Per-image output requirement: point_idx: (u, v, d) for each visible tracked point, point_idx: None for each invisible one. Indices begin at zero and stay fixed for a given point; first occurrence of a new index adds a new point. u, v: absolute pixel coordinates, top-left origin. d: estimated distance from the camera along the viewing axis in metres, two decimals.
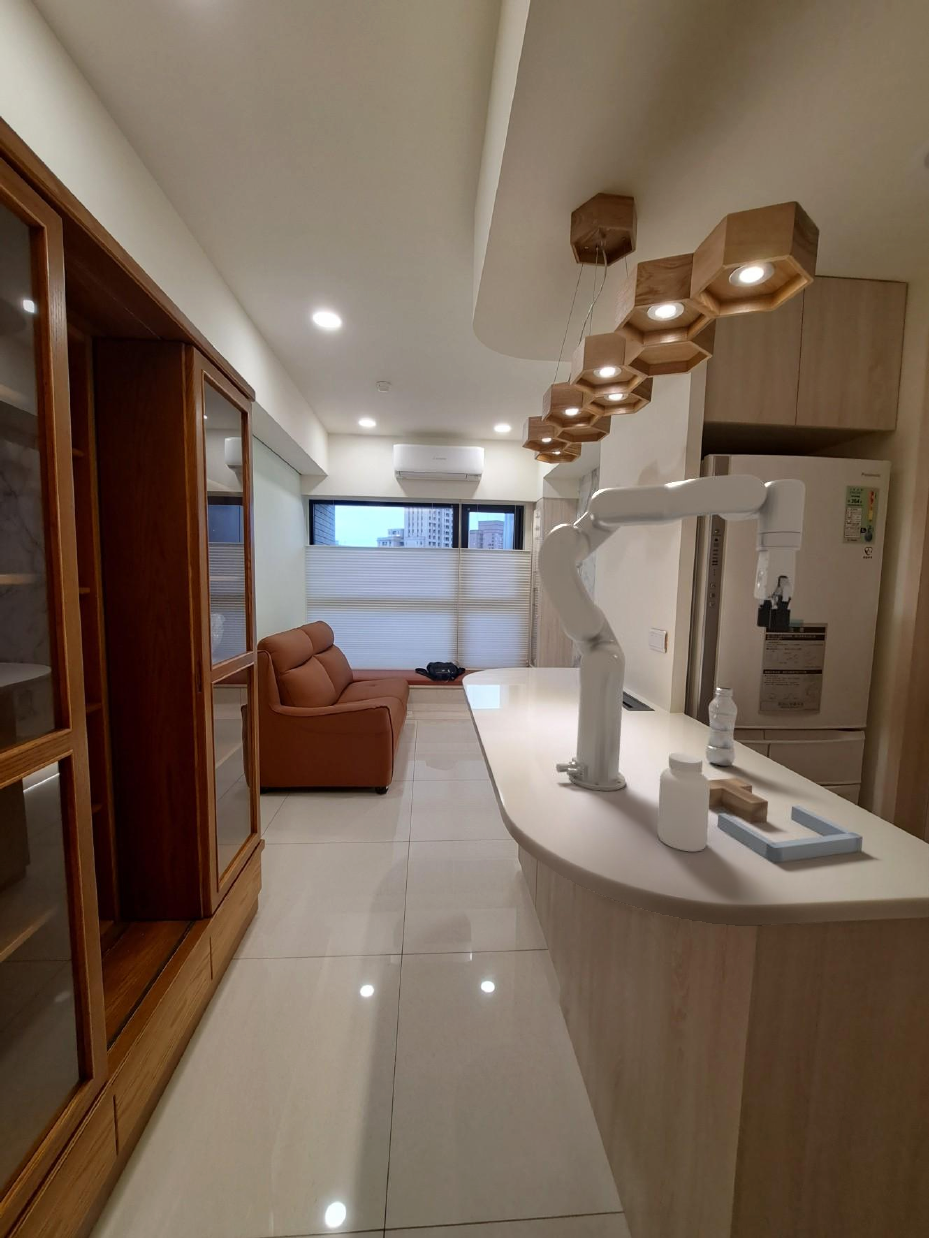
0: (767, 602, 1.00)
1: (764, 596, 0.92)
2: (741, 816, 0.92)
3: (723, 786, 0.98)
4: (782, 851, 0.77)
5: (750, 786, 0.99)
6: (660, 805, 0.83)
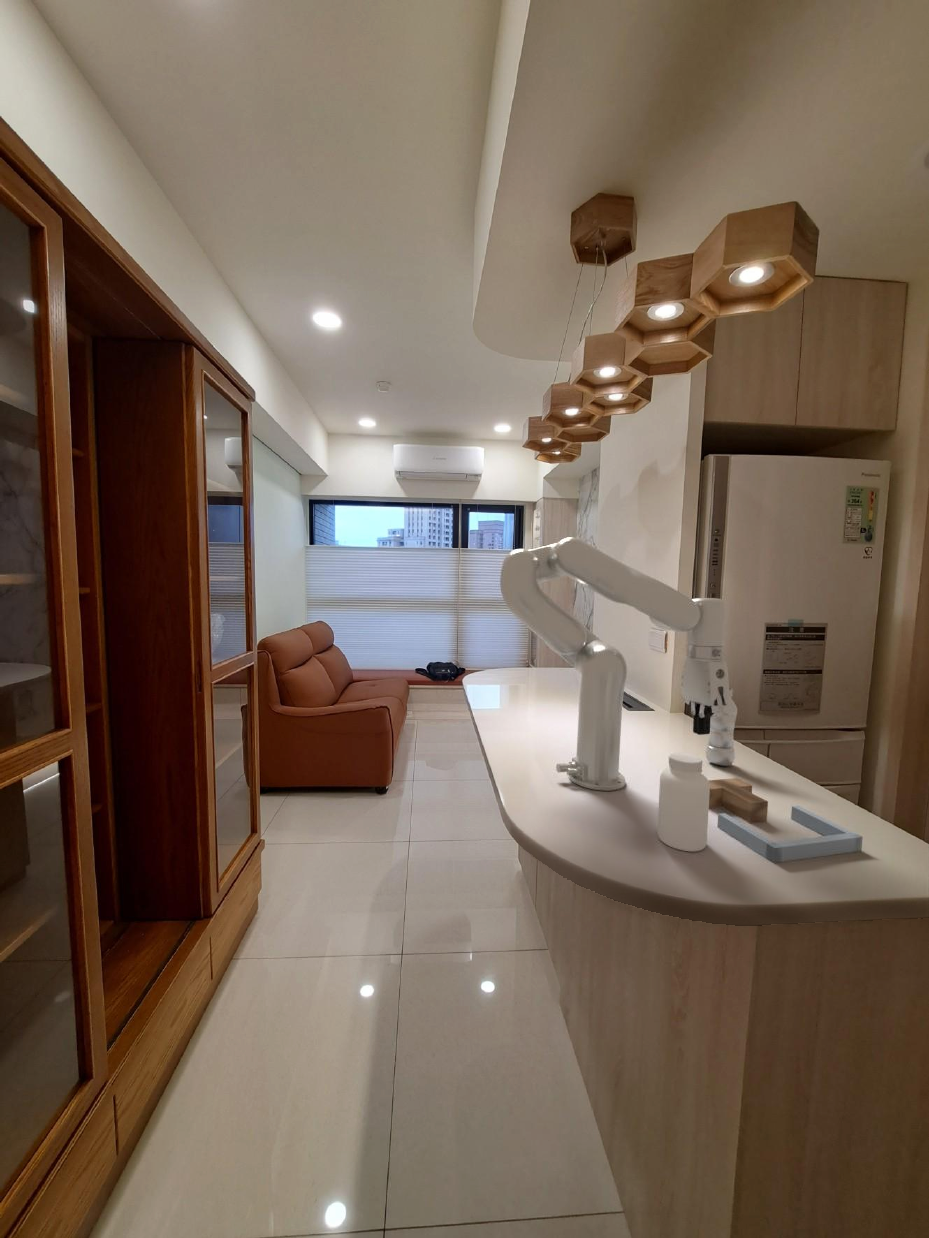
0: None
1: None
2: (741, 816, 0.92)
3: (723, 786, 0.98)
4: (782, 851, 0.77)
5: (750, 786, 0.99)
6: (660, 805, 0.83)
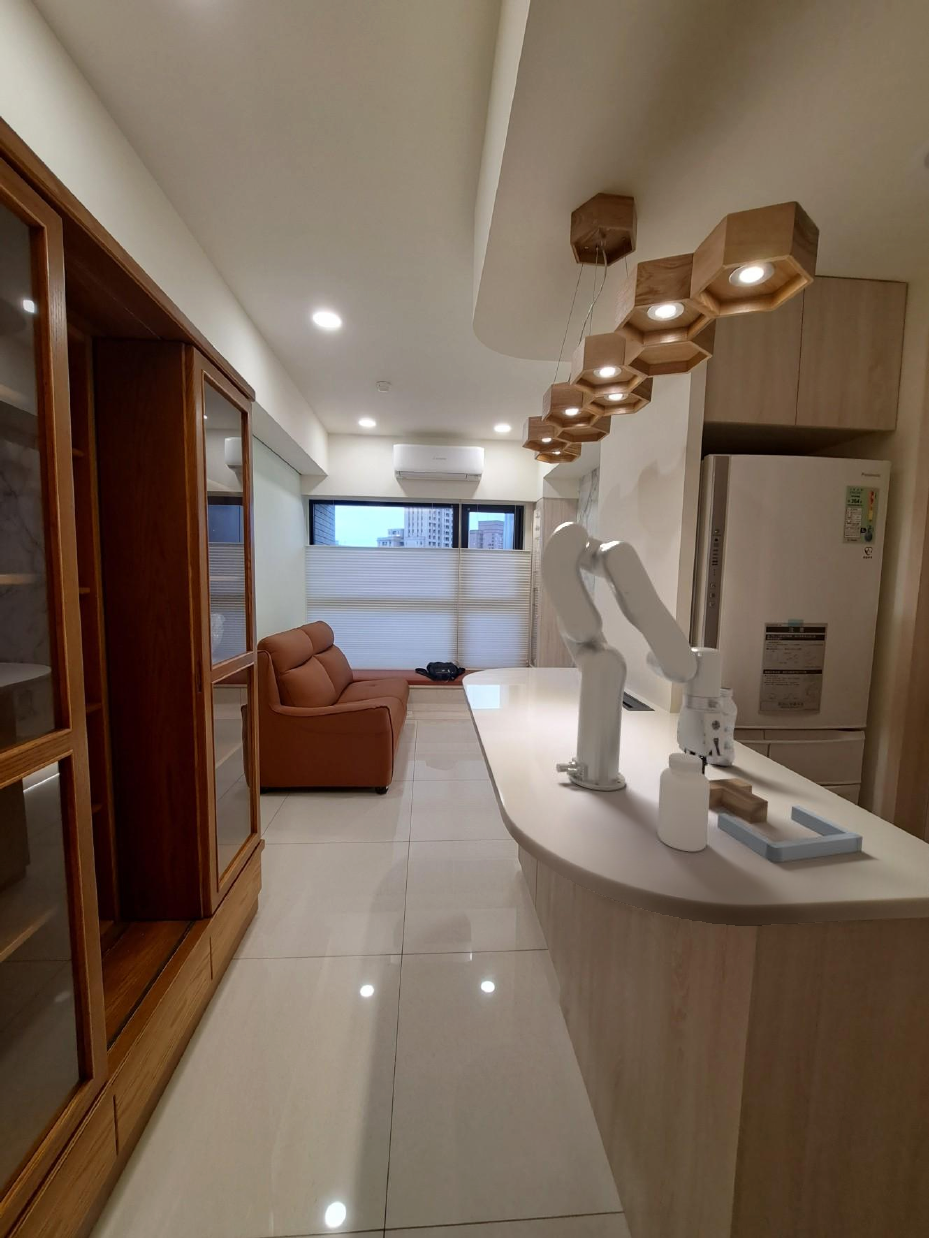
0: None
1: None
2: (741, 816, 0.92)
3: (723, 786, 0.98)
4: (782, 851, 0.77)
5: (750, 786, 0.99)
6: (660, 805, 0.83)
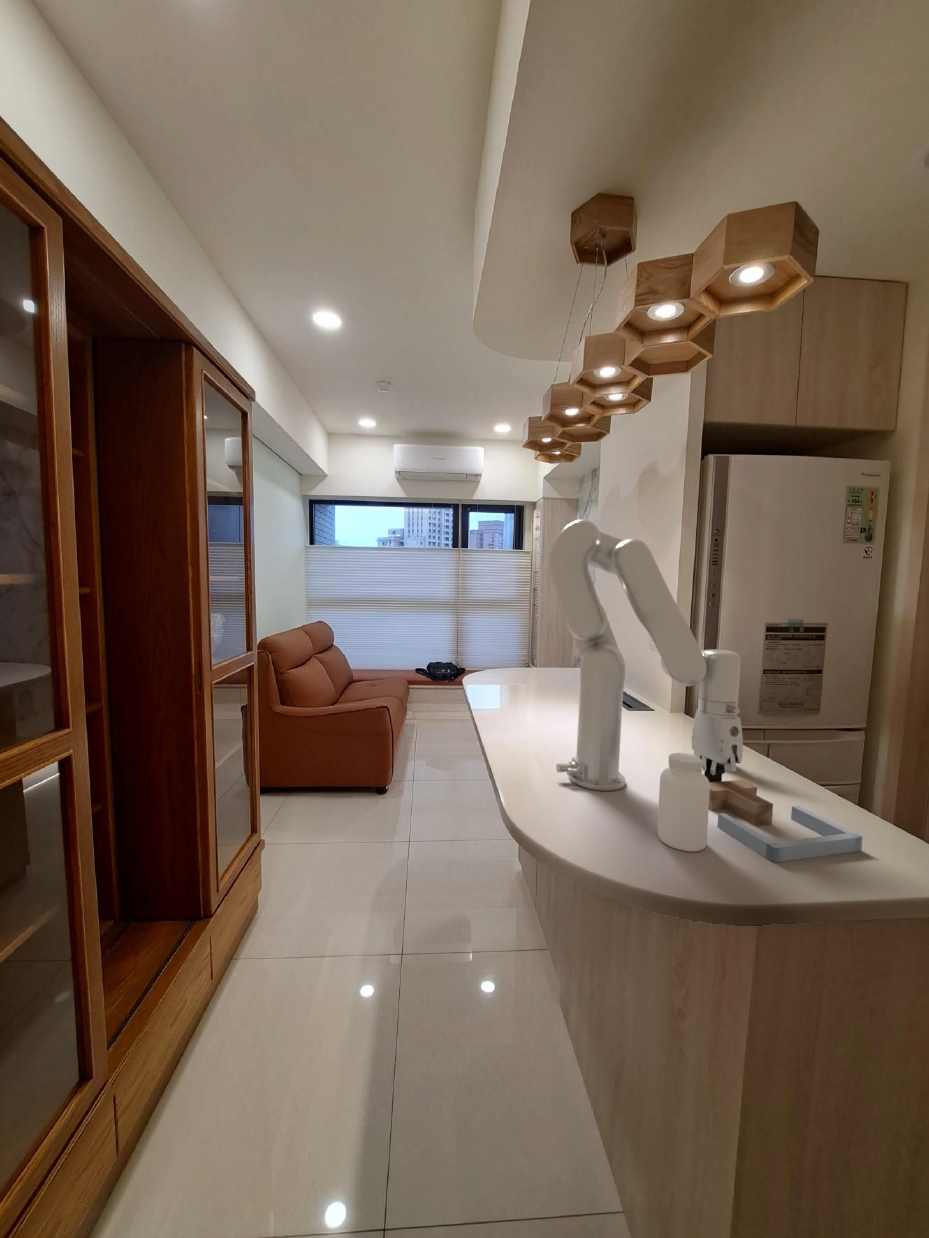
0: None
1: None
2: (746, 818, 0.91)
3: (727, 788, 0.97)
4: (782, 851, 0.77)
5: (755, 788, 0.98)
6: (660, 805, 0.83)
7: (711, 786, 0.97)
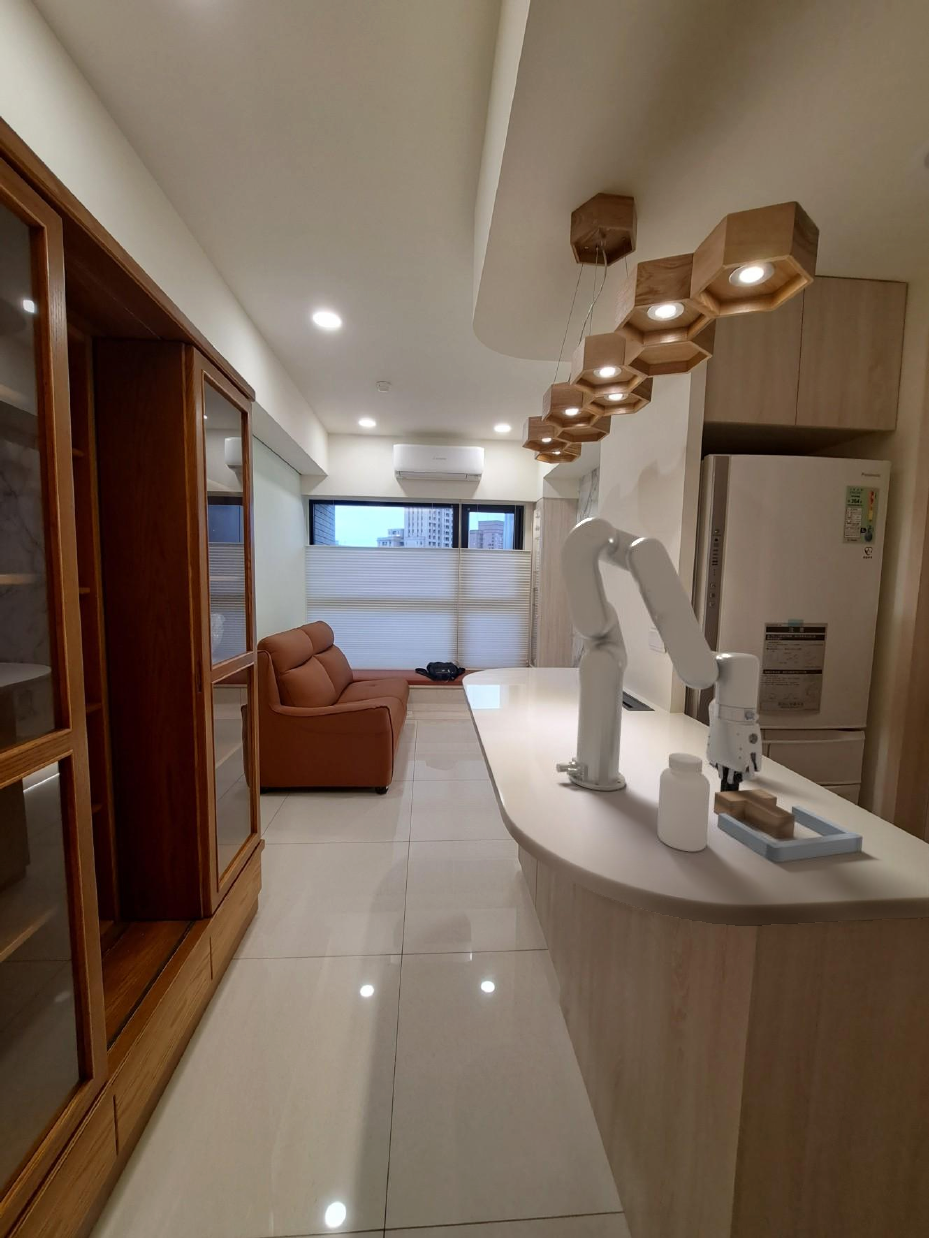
0: None
1: None
2: (766, 830, 0.87)
3: (746, 798, 0.92)
4: (782, 851, 0.77)
5: (774, 798, 0.93)
6: (660, 805, 0.83)
7: (729, 796, 0.93)
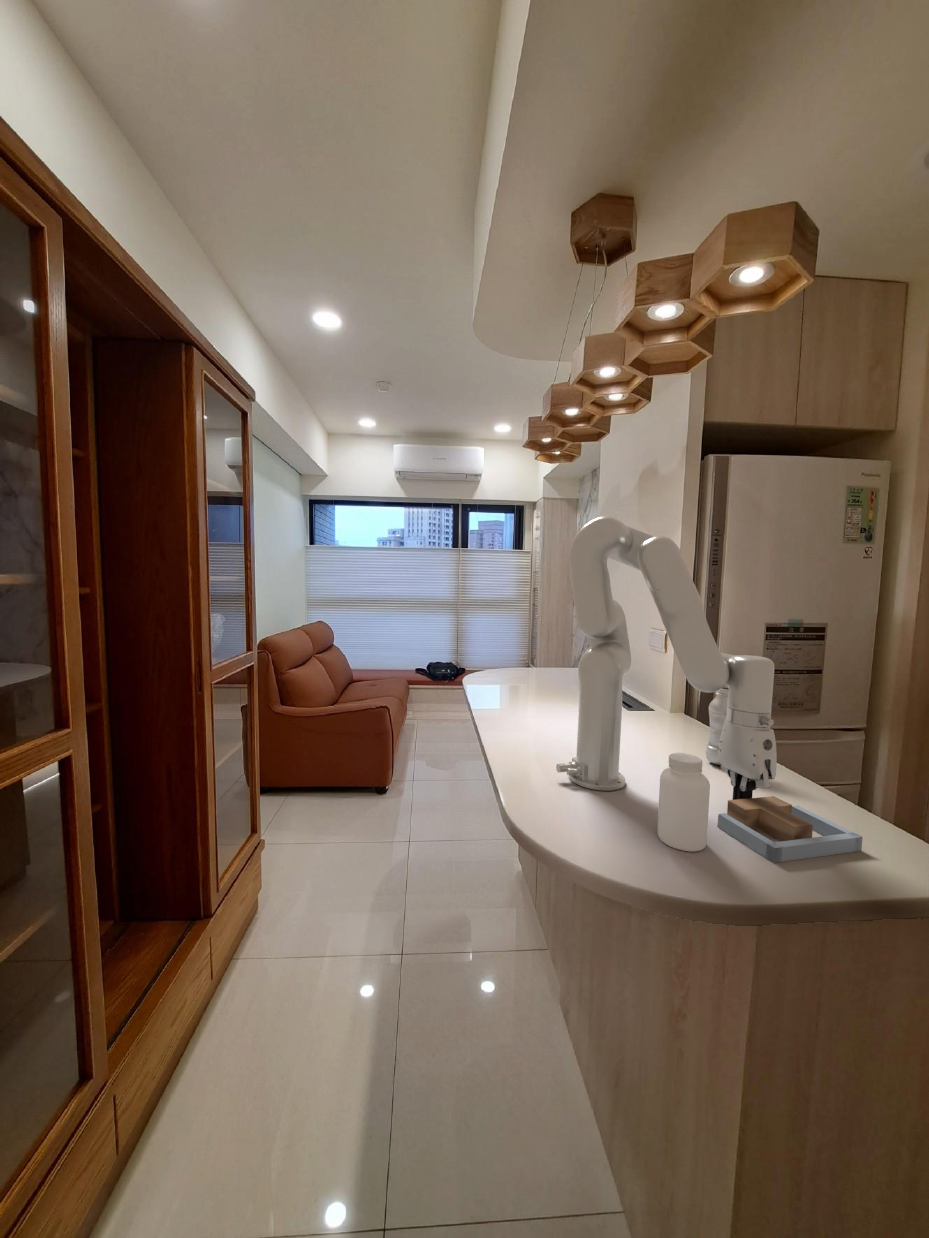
0: None
1: None
2: (782, 840, 0.83)
3: (760, 806, 0.89)
4: (782, 851, 0.77)
5: (790, 806, 0.90)
6: (660, 805, 0.83)
7: (742, 804, 0.89)
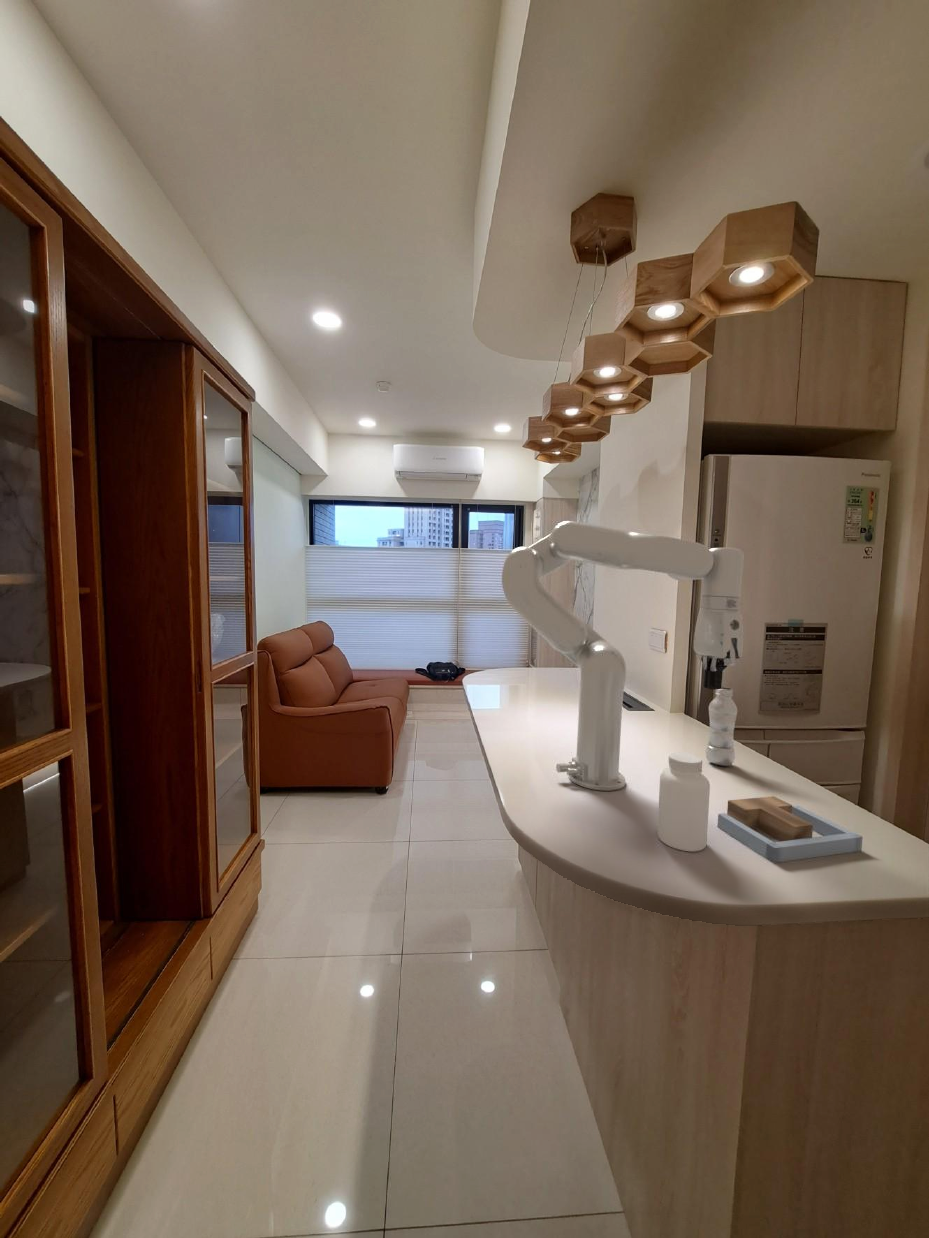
0: None
1: None
2: None
3: (760, 806, 0.89)
4: (782, 851, 0.77)
5: (790, 806, 0.90)
6: (660, 805, 0.83)
7: (743, 804, 0.89)
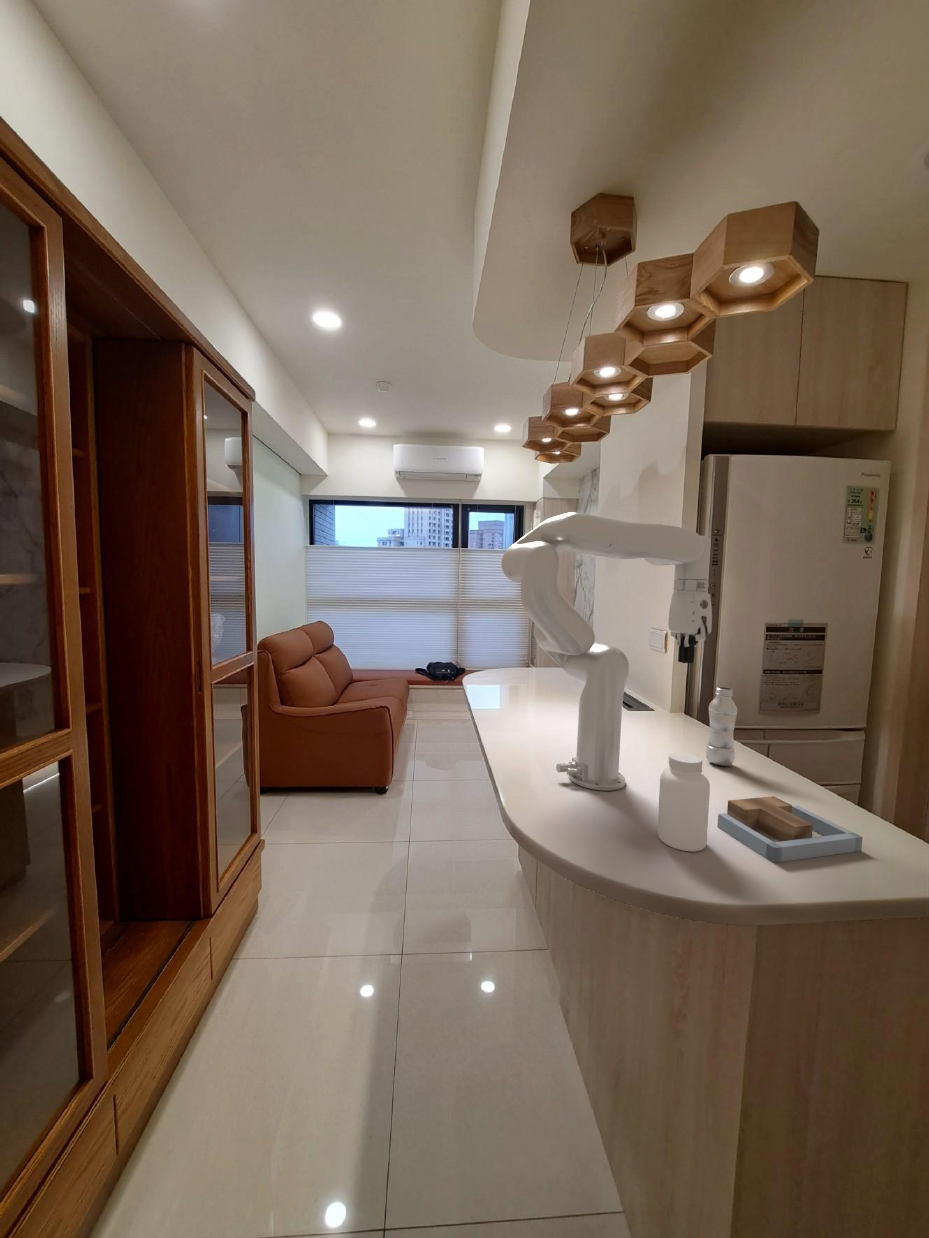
0: None
1: None
2: None
3: (760, 806, 0.89)
4: (782, 851, 0.77)
5: (790, 806, 0.90)
6: (660, 805, 0.83)
7: (743, 804, 0.89)
